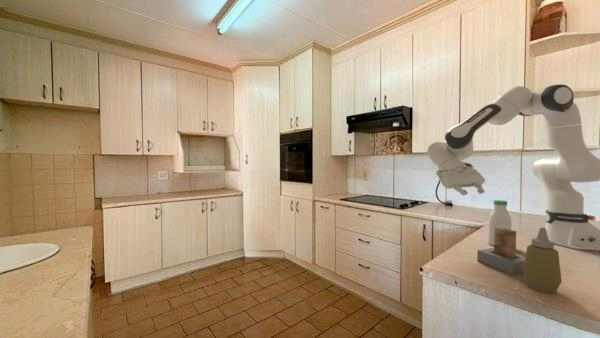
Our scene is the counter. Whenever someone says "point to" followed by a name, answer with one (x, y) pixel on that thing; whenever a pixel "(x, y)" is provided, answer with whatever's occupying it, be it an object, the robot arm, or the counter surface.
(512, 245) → the wooden block
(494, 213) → the milk bottle
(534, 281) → the squeeze bottle
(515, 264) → the grey hollow block
